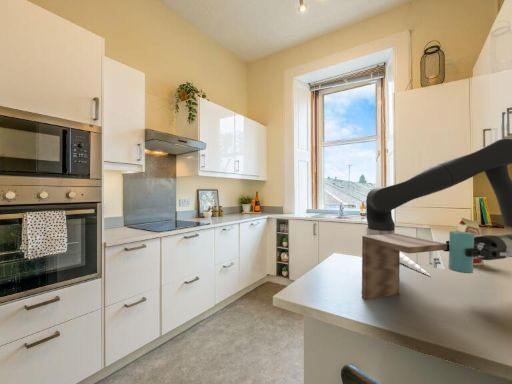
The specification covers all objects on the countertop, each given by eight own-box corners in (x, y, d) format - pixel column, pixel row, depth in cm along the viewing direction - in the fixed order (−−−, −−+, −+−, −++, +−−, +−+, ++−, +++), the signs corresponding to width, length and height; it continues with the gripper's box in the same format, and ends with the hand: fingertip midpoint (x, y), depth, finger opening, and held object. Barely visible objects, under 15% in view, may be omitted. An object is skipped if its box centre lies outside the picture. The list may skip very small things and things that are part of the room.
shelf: (395, 292, 79) (395, 233, 79) (446, 315, 65) (446, 243, 64) (361, 297, 75) (362, 235, 75) (408, 323, 60) (408, 247, 60)
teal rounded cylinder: (452, 271, 72) (453, 233, 72) (445, 266, 77) (446, 230, 77) (476, 274, 70) (477, 235, 70) (468, 268, 75) (469, 232, 75)
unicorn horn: (420, 277, 94) (420, 264, 94) (389, 259, 117) (389, 249, 117) (433, 277, 93) (433, 264, 93) (400, 259, 117) (400, 249, 117)
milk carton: (462, 264, 109) (463, 218, 109) (450, 258, 118) (450, 216, 118) (486, 265, 108) (487, 219, 108) (471, 259, 117) (472, 216, 117)
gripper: (467, 231, 85) (431, 233, 80) (523, 239, 71) (484, 242, 66) (466, 253, 85) (430, 256, 80) (522, 265, 72) (483, 271, 66)
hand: (455, 250), depth 73 cm, fingers closed on teal rounded cylinder, 5 cm apart
